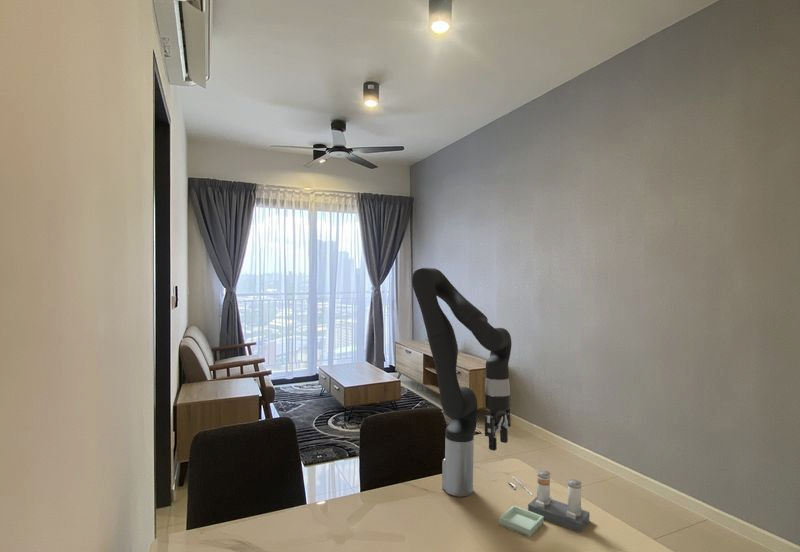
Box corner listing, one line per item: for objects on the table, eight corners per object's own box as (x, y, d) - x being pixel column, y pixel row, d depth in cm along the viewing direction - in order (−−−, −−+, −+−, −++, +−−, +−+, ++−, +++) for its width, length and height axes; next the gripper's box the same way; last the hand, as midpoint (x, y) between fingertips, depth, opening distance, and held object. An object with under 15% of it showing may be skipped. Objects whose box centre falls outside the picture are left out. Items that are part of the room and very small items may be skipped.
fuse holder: (528, 513, 127) (528, 500, 127) (538, 502, 133) (539, 490, 133) (580, 532, 117) (580, 519, 117) (589, 520, 123) (589, 507, 123)
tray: (498, 524, 120) (498, 517, 120) (513, 511, 127) (513, 505, 127) (530, 537, 114) (530, 530, 114) (543, 523, 121) (543, 516, 122)
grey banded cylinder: (535, 503, 128) (535, 472, 128) (539, 498, 131) (540, 469, 131) (547, 507, 126) (547, 476, 126) (551, 502, 128) (551, 472, 128)
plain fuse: (565, 514, 122) (565, 482, 122) (569, 509, 125) (570, 478, 125) (578, 518, 120) (578, 486, 120) (582, 513, 122) (583, 481, 123)
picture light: (533, 496, 138) (533, 490, 138) (521, 498, 137) (521, 491, 137) (513, 477, 151) (513, 471, 151) (501, 478, 150) (501, 472, 150)
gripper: (495, 387, 141) (496, 438, 140) (476, 395, 129) (477, 450, 128) (517, 390, 136) (518, 442, 135) (499, 398, 125) (500, 455, 124)
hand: (498, 446), depth 132 cm, fingers open, 8 cm apart
